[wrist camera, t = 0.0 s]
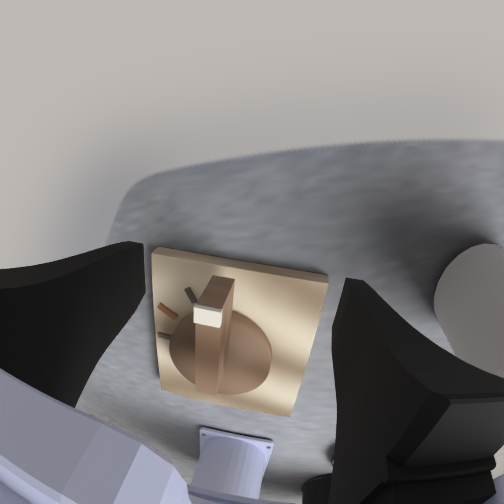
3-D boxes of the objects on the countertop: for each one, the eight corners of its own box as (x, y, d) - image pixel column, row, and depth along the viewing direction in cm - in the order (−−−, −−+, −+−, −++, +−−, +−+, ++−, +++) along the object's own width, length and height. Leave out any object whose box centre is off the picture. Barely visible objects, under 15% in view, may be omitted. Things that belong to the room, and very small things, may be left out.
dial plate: (290, 407, 27) (289, 418, 26) (165, 381, 28) (160, 391, 27) (327, 275, 21) (328, 285, 20) (158, 246, 23) (150, 254, 21)
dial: (264, 391, 25) (255, 438, 20) (176, 372, 26) (155, 414, 21) (287, 278, 20) (281, 323, 16) (172, 258, 21) (140, 295, 17)
